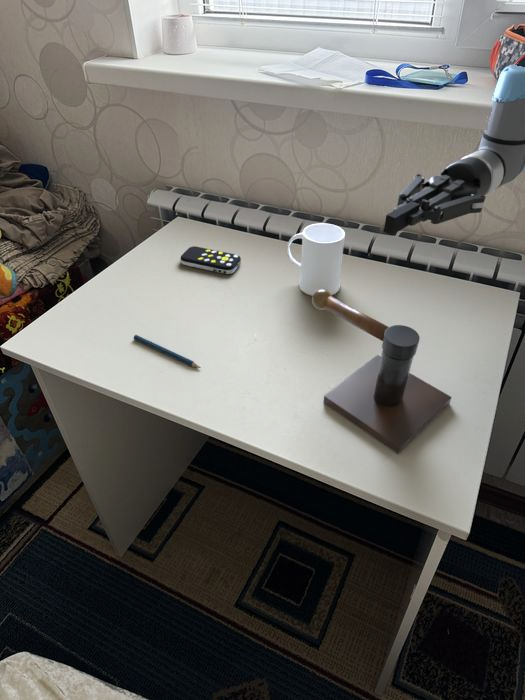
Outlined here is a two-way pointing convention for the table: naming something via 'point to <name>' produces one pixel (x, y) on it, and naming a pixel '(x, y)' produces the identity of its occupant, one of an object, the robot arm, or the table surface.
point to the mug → (320, 257)
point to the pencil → (166, 351)
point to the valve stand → (387, 401)
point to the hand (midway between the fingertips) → (389, 225)
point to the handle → (372, 326)
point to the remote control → (211, 260)
